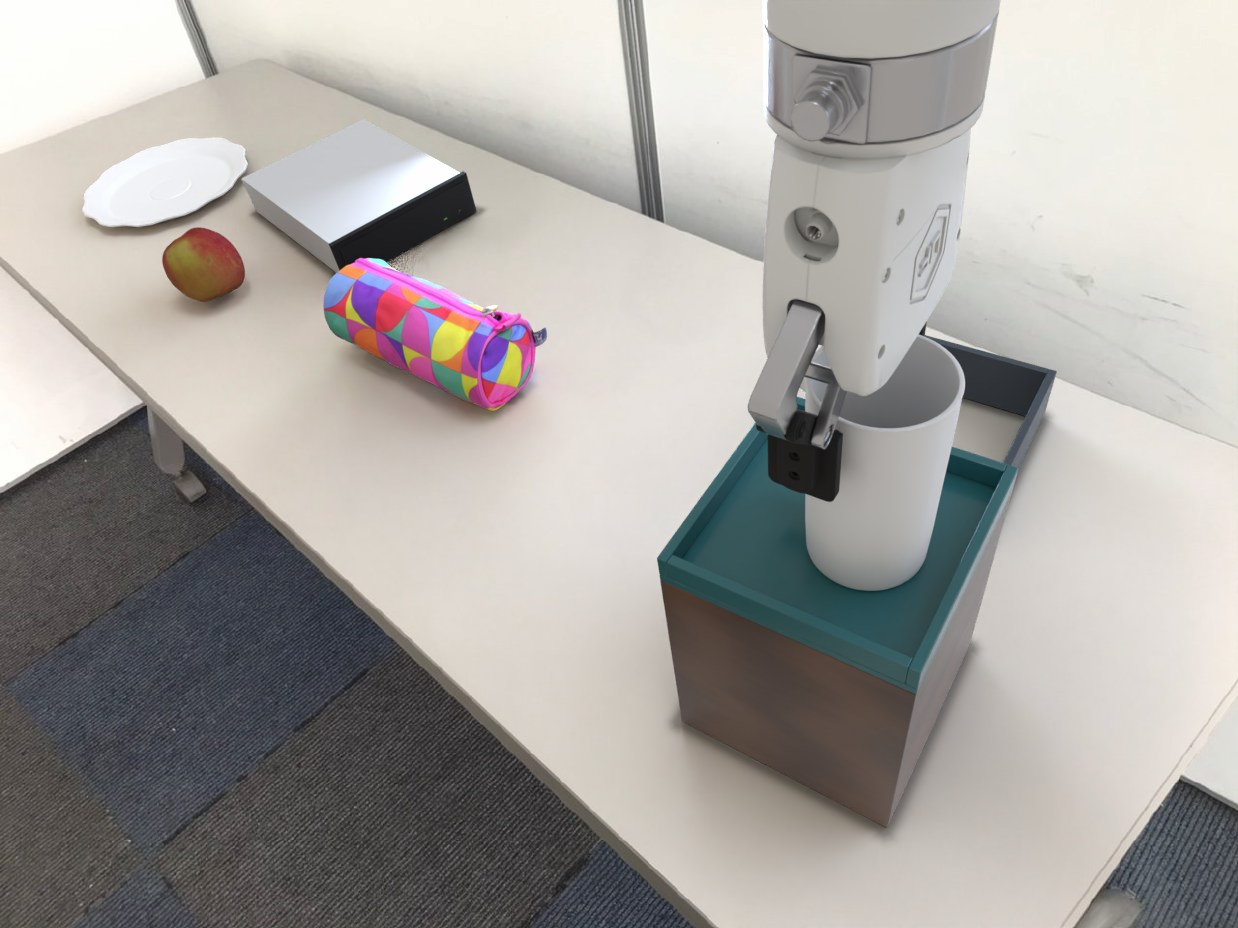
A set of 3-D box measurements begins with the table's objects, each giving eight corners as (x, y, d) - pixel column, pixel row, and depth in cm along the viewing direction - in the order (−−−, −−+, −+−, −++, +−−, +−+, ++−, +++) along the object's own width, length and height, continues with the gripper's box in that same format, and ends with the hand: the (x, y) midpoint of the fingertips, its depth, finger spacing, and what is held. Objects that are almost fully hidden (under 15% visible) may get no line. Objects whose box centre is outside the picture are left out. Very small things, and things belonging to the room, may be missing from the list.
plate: (60, 208, 122) (53, 196, 121) (196, 135, 131) (191, 123, 130) (141, 255, 111) (134, 243, 110) (283, 172, 121) (278, 160, 120)
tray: (1012, 491, 52) (1019, 467, 50) (916, 695, 44) (920, 673, 43) (778, 413, 58) (778, 389, 57) (659, 580, 51) (656, 557, 49)
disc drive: (347, 285, 102) (331, 246, 98) (255, 213, 115) (238, 177, 111) (477, 212, 109) (467, 173, 105) (376, 152, 121) (364, 116, 118)
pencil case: (561, 367, 88) (544, 289, 82) (499, 431, 83) (475, 354, 77) (396, 305, 98) (369, 231, 92) (331, 359, 93) (298, 285, 87)
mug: (957, 535, 50) (995, 365, 41) (886, 619, 47) (911, 455, 38) (799, 452, 55) (803, 286, 46) (727, 524, 52) (717, 360, 43)
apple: (243, 265, 107) (212, 203, 101) (263, 299, 102) (232, 236, 96) (177, 292, 105) (142, 231, 99) (195, 328, 100) (159, 265, 94)
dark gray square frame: (1043, 416, 77) (1057, 370, 73) (985, 539, 69) (997, 494, 66) (877, 367, 83) (881, 323, 79) (807, 474, 76) (809, 431, 72)
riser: (969, 646, 64) (1012, 491, 52) (887, 828, 56) (916, 695, 44) (778, 567, 70) (778, 413, 58) (681, 721, 62) (659, 580, 51)
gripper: (879, 220, 26) (847, 580, 39) (1061, -23, 35) (988, 332, 48) (650, 169, 29) (688, 516, 42) (870, -41, 39) (848, 296, 51)
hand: (847, 418), depth 45 cm, fingers open, 9 cm apart
